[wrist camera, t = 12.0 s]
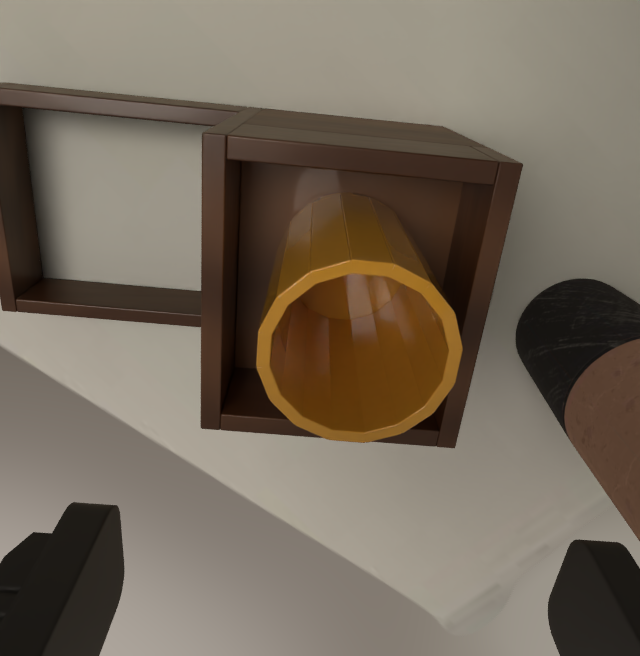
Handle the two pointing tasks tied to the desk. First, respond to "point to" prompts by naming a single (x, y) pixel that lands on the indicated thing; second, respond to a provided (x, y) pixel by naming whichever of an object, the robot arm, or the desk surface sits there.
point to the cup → (355, 324)
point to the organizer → (273, 231)
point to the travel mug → (591, 379)
